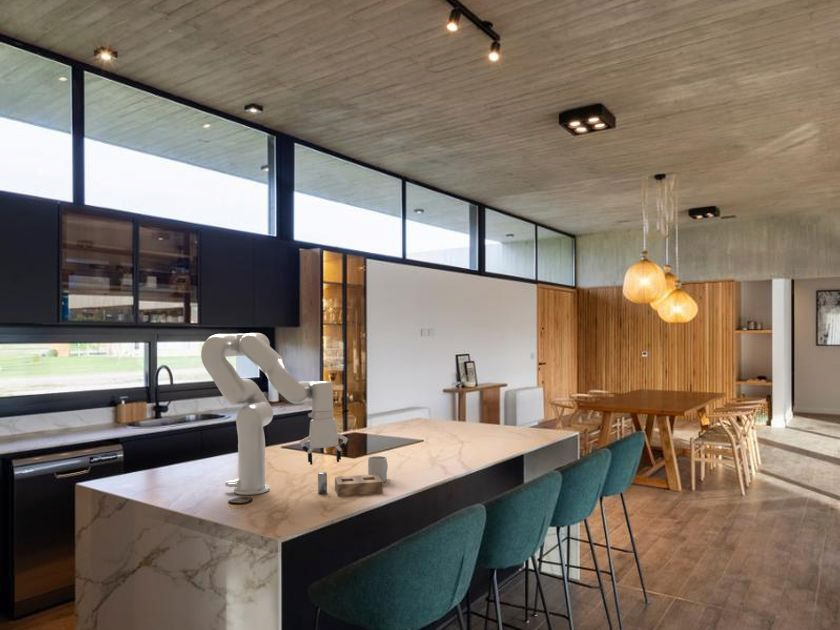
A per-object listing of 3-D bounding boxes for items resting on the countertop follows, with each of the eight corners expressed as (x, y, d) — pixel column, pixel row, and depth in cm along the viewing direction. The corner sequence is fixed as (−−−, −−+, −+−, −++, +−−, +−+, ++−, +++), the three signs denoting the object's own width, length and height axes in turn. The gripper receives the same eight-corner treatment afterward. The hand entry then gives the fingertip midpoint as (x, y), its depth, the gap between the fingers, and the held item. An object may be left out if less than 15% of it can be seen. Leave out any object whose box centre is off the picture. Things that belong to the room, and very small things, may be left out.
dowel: (318, 494, 220) (318, 474, 220) (317, 491, 223) (317, 472, 224) (327, 493, 221) (327, 473, 221) (326, 491, 224) (326, 471, 224)
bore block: (338, 495, 217) (337, 484, 218) (334, 487, 229) (334, 476, 229) (382, 492, 221) (382, 481, 221) (377, 484, 233) (377, 474, 233)
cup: (364, 482, 238) (364, 458, 238) (379, 476, 246) (379, 454, 246) (379, 484, 234) (379, 460, 234) (394, 478, 242) (394, 456, 243)
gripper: (299, 418, 217) (300, 467, 217) (347, 415, 221) (349, 462, 221) (298, 415, 225) (299, 463, 224) (345, 412, 229) (347, 458, 228)
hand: (324, 462), depth 222 cm, fingers open, 9 cm apart
